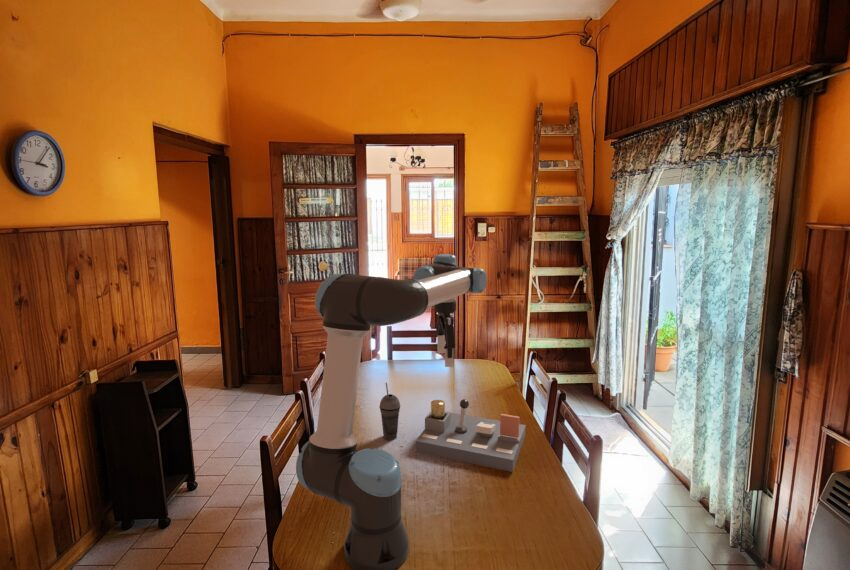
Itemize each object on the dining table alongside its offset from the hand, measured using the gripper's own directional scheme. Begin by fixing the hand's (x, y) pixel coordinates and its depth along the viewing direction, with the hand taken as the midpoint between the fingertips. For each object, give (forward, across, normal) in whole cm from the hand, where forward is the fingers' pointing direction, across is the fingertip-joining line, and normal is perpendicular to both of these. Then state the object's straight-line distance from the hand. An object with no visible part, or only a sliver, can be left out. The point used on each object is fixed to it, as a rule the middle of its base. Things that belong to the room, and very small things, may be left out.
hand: (445, 359), depth 162 cm
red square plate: (+22, -16, -18) cm, 33 cm away
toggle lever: (+22, -8, -4) cm, 24 cm away
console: (+27, -10, -7) cm, 30 cm away
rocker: (+21, -12, -11) cm, 27 cm away
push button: (+20, -4, +3) cm, 21 cm away
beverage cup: (+27, -1, +20) cm, 34 cm away
